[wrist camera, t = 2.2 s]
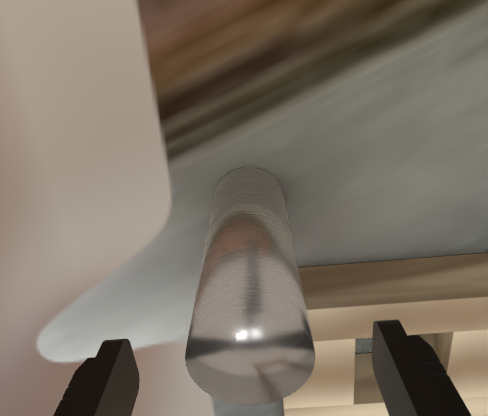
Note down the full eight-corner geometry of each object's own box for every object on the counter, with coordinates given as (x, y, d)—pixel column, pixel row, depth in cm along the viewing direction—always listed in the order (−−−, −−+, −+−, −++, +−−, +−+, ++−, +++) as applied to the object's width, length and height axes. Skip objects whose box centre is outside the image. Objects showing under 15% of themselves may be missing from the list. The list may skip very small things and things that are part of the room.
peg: (209, 170, 22) (174, 314, 12) (281, 163, 22) (314, 303, 11) (218, 232, 24) (195, 408, 13) (285, 226, 24) (316, 401, 13)
